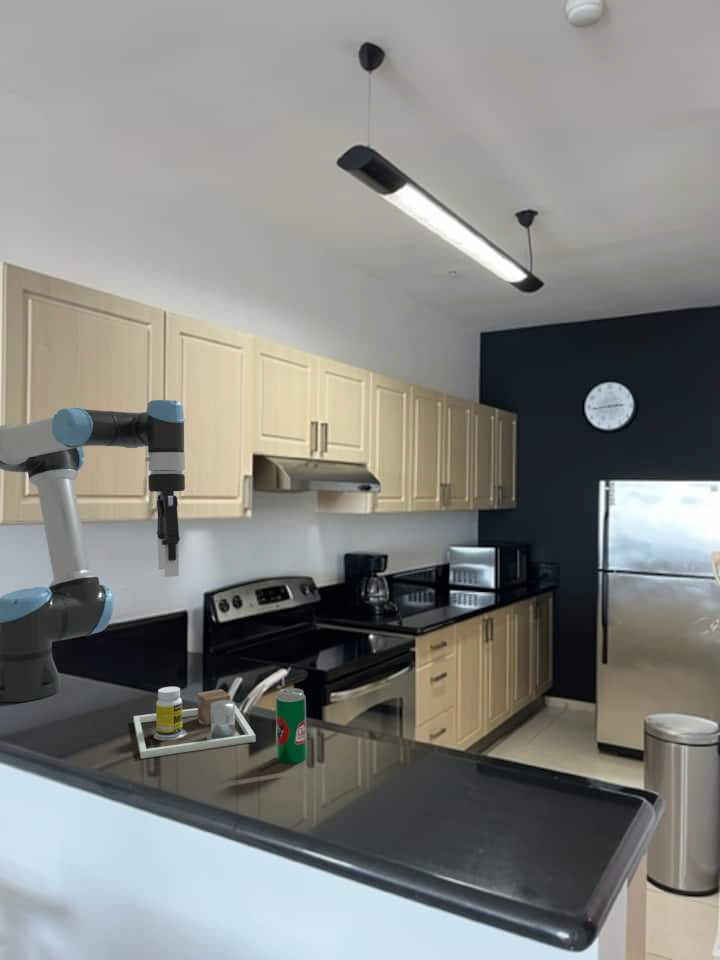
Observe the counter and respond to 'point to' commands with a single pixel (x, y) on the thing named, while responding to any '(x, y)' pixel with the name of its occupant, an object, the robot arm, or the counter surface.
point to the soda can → (291, 726)
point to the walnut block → (209, 703)
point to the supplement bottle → (169, 713)
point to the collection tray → (186, 747)
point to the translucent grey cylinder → (222, 719)
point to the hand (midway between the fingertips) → (168, 572)
